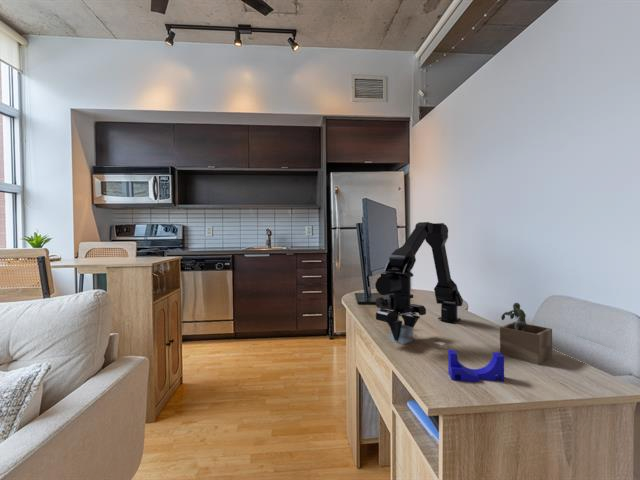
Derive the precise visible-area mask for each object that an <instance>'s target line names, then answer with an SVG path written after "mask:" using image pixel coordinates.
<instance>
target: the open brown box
mask: <svg viewBox="0 0 640 480" xmlns="http://www.w3.org/2000/svg"><path fill="white" fill-rule="evenodd" d="M515 323H516V321H514V322H511V323H509V324H505V325H502V326H500V327H499V353H501V354H502V355H503V356H506V357H508V358H512V359H515V360H519V361H523V362H526V363H529V364H532V365H533V364H534V365H537V366H538V365H541V364H542V363H544V362H545V361H547V360H549V359H551V358H553V328H550V327H544V326H539V325H534V324H528V323H526V324H527V325H526V326H525V332H524V331H522V328H521V326H519V330H515Z"/></svg>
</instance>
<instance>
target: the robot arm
mask: <svg viewBox="0 0 640 480" xmlns="http://www.w3.org/2000/svg"><path fill="white" fill-rule="evenodd" d="M448 238H449V228H448V226H447V224H445V223H444V222H441V223H440V222H438V223H436V222H435V223H432V222H429V221H426V222H425V221H423V222H417V223H416V224H415V226H414V229H413V231H412V232H411V233H410V235H409V237H407V239H406V241H405V242H404V243H403V245H402V246H401V247H399V248H396V249H394V251H393V252H392V253H391V254H390V256H388V257H389V258H388V259H387V262H386V265H385V268H384V270H383V272H380V276H379V277H378V278H377V279H376V281H375V285H374V286H375V289H376V292H378V294H379V295H382V296H386V295H387V296H388V298H385V299H384V297H377V298H375V299H376V300H375V307H377V309H379V308H380V310H377V311H376V312H375V320H377V321H380V322H383V323H384V322H385V323H387V324H388V326H389V329H390V332H391V331H392V334H393V337H394V340H396V341H398V339H399V335H400V330H401V326H402V325H406V326H410V327H413V329H414V327H415V325H416V324H417V323H418V320H419V319H420V318H421V316H425V315H427V308H426V307H425V306H424V305H421V304H417V303H416V304H415V303H411V299H414V294H411V277H412V278H413V277H414V273H413V272H412V270H413V268H414V265H415V264H416V261H417V260H416V254H417V252H418V251H419V249H420V248H421V246H422V244H423V243H424V241H425V242H426V244H428V246H430V248H431V251H432V253H431V254H432V257H433V262H434V268H435V273H436V278H437V283H436V284H435V287H434V288H433V290H434V297H435V301H436V304H437V305H438V304H439V305H440V304H441V305H440V306H441V309H440V317H437V319H438V320H440V321H446V322H450V323H454V322H455V323H456V322H458V321H462V318H461V317H458V307H462V306H463V303H464V302H463V301H464V298H463V297H462V295H461V294H460V291H459V288H458V286H457V284H456V282H455V281H453V279H452V278H451V271H450V266H449V259H448V254H447V249H446V243H447V241H448ZM417 313H418V315H417ZM400 317H401V318H402V319H403V320H400Z"/></svg>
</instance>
